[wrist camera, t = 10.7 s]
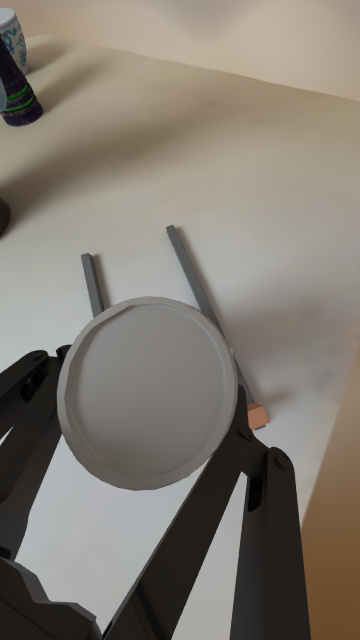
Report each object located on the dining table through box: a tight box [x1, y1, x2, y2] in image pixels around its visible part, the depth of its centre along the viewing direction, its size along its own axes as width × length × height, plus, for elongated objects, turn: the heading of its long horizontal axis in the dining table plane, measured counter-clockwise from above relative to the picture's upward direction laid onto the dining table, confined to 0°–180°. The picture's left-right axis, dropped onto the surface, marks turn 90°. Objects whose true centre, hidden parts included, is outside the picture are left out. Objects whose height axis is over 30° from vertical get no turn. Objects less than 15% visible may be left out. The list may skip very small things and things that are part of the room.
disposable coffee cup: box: [57, 297, 238, 491], centre depth 13 cm, size 10×10×12 cm
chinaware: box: [0, 8, 28, 75], centre depth 44 cm, size 15×15×8 cm
